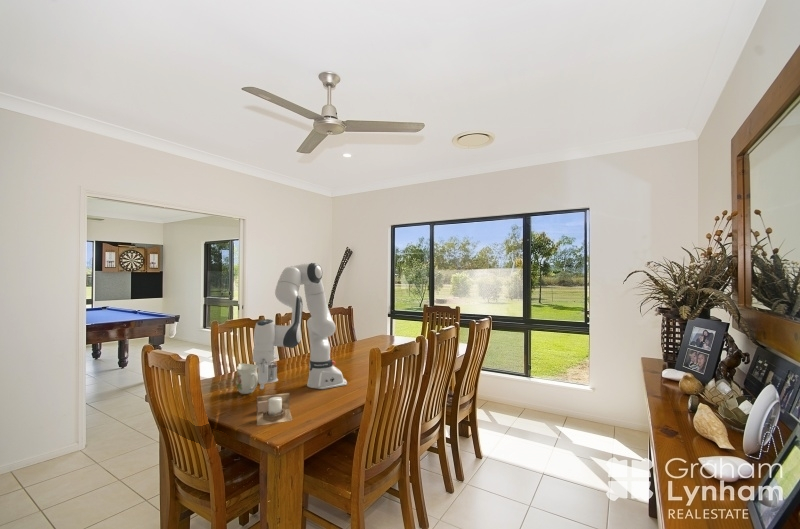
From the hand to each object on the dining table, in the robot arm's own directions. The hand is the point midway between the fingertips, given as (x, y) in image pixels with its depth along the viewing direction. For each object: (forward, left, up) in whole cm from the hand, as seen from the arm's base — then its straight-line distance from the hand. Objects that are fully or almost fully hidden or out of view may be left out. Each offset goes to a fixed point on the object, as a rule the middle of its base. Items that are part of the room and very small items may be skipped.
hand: (262, 388), depth 156 cm
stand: (-5, +5, -13) cm, 15 cm away
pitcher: (+6, -37, -13) cm, 40 cm away
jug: (-3, +5, -11) cm, 13 cm away
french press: (-6, -54, -13) cm, 56 cm away
